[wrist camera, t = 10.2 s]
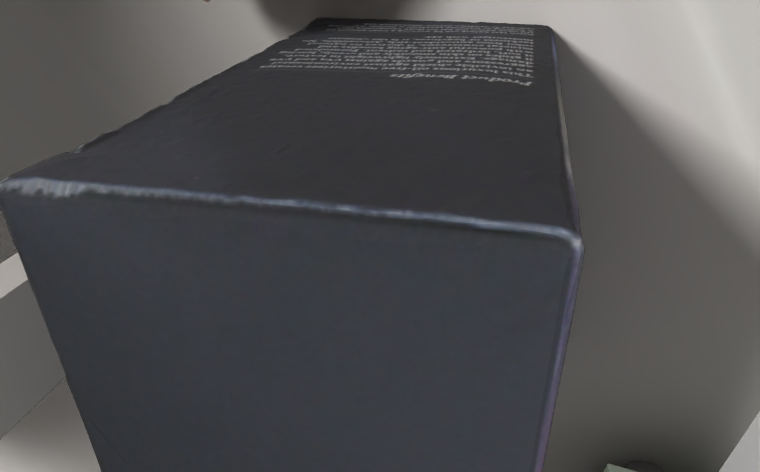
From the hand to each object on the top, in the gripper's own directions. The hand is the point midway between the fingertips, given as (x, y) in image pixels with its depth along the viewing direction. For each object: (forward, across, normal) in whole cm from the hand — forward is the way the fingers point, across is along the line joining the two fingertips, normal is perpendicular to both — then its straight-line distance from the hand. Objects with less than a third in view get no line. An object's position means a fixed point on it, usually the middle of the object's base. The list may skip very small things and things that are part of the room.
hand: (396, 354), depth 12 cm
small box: (+6, -1, 0) cm, 6 cm away
